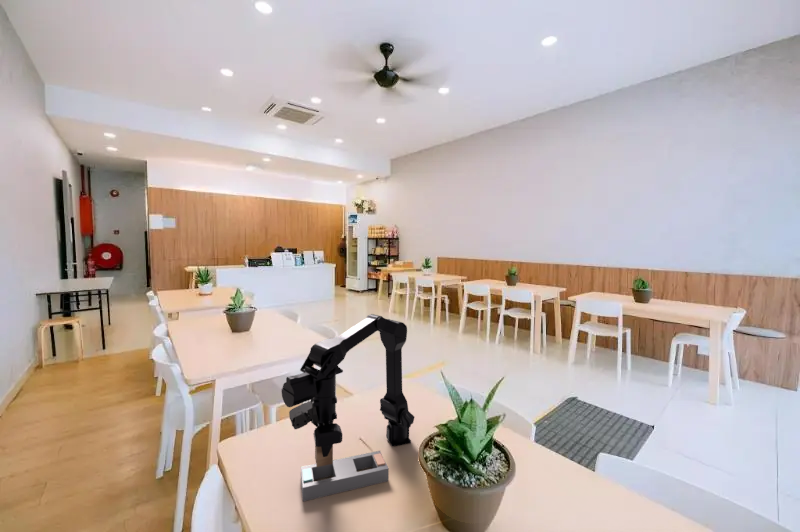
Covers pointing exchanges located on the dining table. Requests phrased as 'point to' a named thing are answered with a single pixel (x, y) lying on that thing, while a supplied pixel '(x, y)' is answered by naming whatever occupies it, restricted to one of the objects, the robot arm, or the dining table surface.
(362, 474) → the socket strip
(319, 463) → the brown wooden block
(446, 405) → the dining table surface
